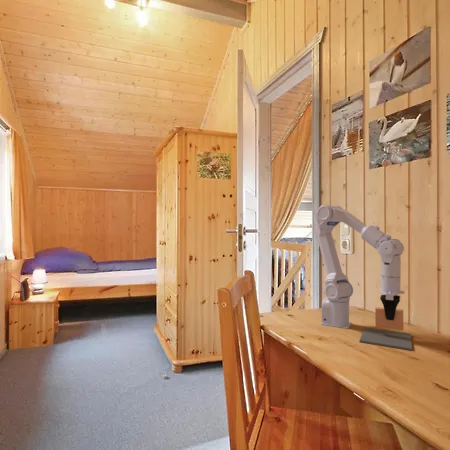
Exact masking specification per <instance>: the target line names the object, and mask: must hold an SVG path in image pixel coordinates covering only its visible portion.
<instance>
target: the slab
mask: <svg viewBox="0 0 450 450" xmlns="http://www.w3.org/2000/svg"><path fill="white" fill-rule="evenodd" d="M374 310H375V312H374V313H375V314H374V315H375V316H374V317H375V318H374V319H375V328H378V329H386V330H387V329H389V330H395V331H396V330H397V331H404V309H399V308H396V312H395V317H394V320H386V316H385V310H384V307H381V306H380V307H379V306H375V309H374Z"/></svg>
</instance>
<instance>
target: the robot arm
mask: <svg viewBox="0 0 450 450" xmlns="http://www.w3.org/2000/svg"><path fill="white" fill-rule="evenodd" d="M314 216H315V219H316V221H315V234H316V239H317V242H318V246H319V249H320V253H321V256H322V261H323V265H324V268H325V271H326V275H327V276H326V278H325V279H324V294H325V296H326V298H323V299H322V302H321V323H320V325H322V326H328V327H336V328H341V329H349V328H350V327H351V325H352V322H351V321H350V299H351V298H350V297H352V295H353V293H354V287H353V285H352V284H351V282H350V281H349V278H348V276H347V275H346V274H345V273H344V272H343V270H342V267H341V262H340V260H339V256H338V252H337V248H336V245H335V241H334V237H333V234H332V232H333V230H334V228H336V227H337V225H339V224H340V223H344V224H345V225H347V226H348V227H350V228H351V229H353V230H355V231H356V232H358V233H359V234H360V237H361V239H362V240H364V242H365V243H367V244H369V245H370V246H372V247H373V248H374V249H376V250H377V253H378V255H380V288H379V292H380V293H381V295H380V297H379V298H380V299H379V300H380V301H381V303H382V306H383V308H384V310H385V316H386V320H394V317H395V312H396V309H398V308H397V307H398V306H399V303H400V301H401V295H402V294H404V295H405V291H404V290H401V272H402V271H401V270H402V269H401V268H402V267H401V265H402V264H401V263H402V262H401V260H402V259H401V255H403V253H404V249H405V248H404V245H403V243H402V241H400V240H399V239H398V238H392V235H390V234H386V233H385V232H384V231H382V230H380V227H379V226H378V225H372V224H370V225H366V223H364V222H363V221H361V220H359V218H357V217H356V216H354V215H353V214H352V213H351V212H349V211H348V210H347V209H344V208H343V207H341V206H340V205H336V206H335V205H328V204H322V205H320V206H319V207H318V208H317V210H316V212H315V213H314Z"/></svg>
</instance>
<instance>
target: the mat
mask: <svg viewBox="0 0 450 450" xmlns="http://www.w3.org/2000/svg"><path fill="white" fill-rule="evenodd" d="M359 343H363V344H367V345H368V344H369V345H373V346H375V345H376V346H381V347H387V348H393V349H399V350H406V351H410V352H411V351H413V345H412V344H413V343H412V334H411V333H408V332H402V331H396V330H395V331H394V330H387V329H382V328H374V327H367V326H366V327H363V331H362V334H361V336H360V338H359Z"/></svg>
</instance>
